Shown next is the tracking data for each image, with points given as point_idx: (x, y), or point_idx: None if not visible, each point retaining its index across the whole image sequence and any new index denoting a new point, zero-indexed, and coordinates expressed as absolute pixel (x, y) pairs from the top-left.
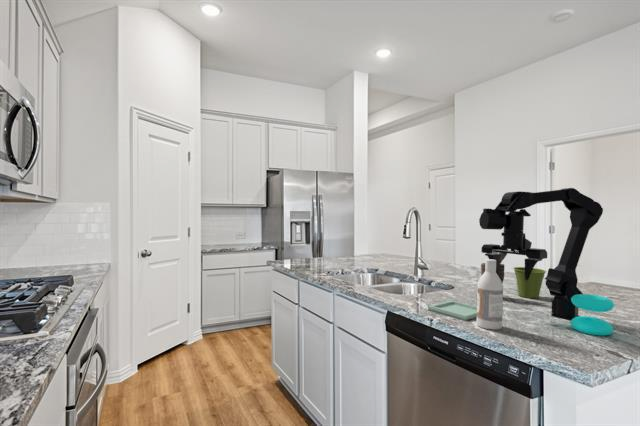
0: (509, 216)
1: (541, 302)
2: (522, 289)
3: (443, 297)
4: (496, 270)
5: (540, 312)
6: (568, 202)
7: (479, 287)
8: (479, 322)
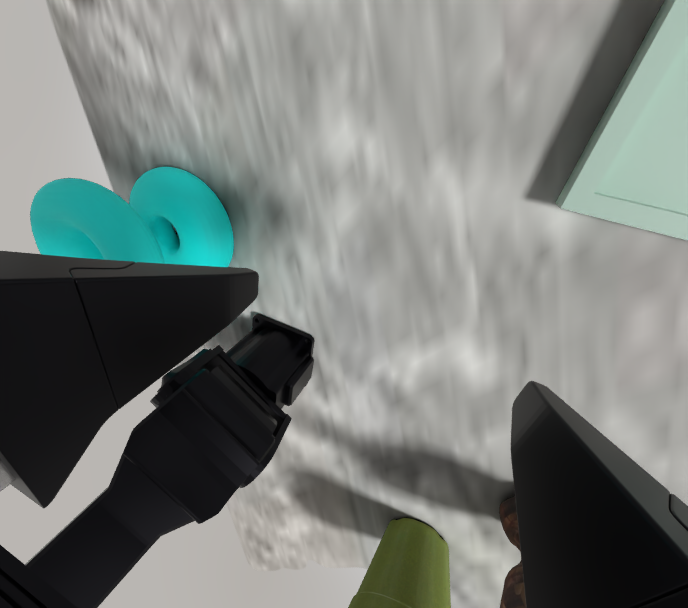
0: None
1: (372, 482)
2: (428, 556)
3: None
4: (560, 411)
5: (350, 365)
6: None
7: None
8: None
